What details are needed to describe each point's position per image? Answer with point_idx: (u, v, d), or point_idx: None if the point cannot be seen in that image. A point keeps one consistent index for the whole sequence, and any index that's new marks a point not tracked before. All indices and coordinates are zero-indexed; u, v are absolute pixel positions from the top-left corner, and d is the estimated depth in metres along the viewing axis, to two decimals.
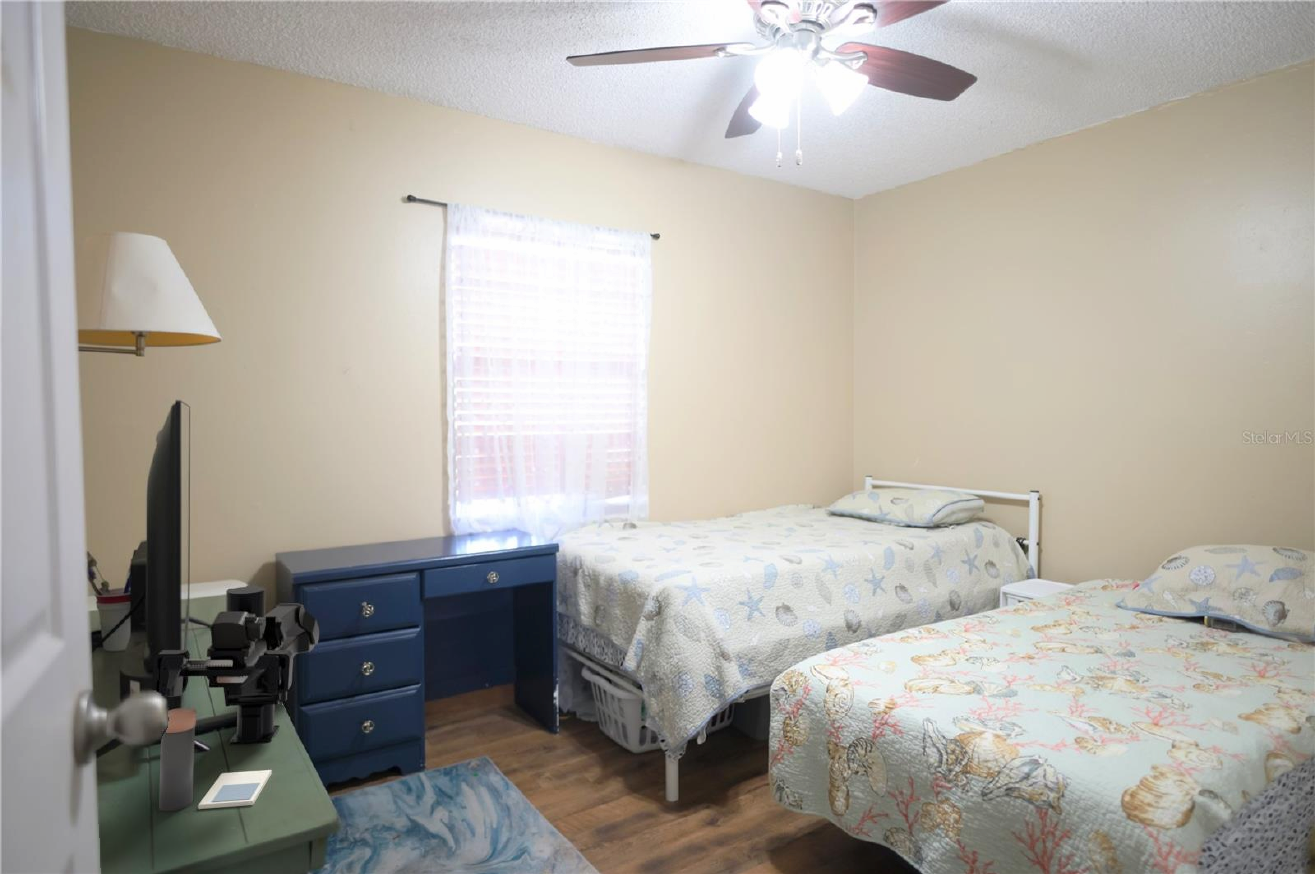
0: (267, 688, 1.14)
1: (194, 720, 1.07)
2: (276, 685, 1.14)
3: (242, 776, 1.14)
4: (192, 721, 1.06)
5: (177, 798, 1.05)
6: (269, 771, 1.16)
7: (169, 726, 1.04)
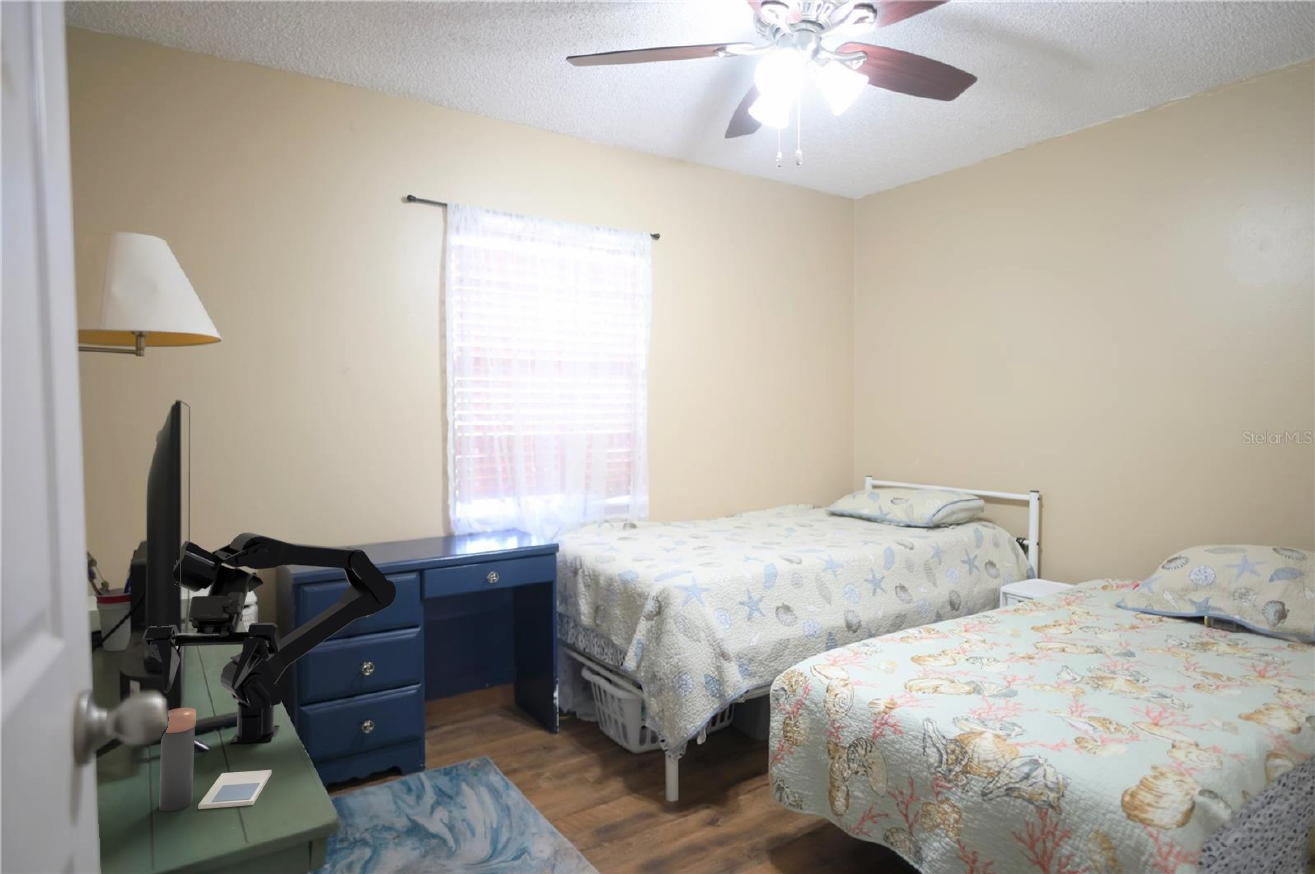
0: (258, 657, 1.21)
1: (194, 720, 1.07)
2: (266, 654, 1.21)
3: (242, 776, 1.14)
4: (192, 721, 1.06)
5: (177, 798, 1.05)
6: (269, 771, 1.16)
7: (169, 726, 1.04)
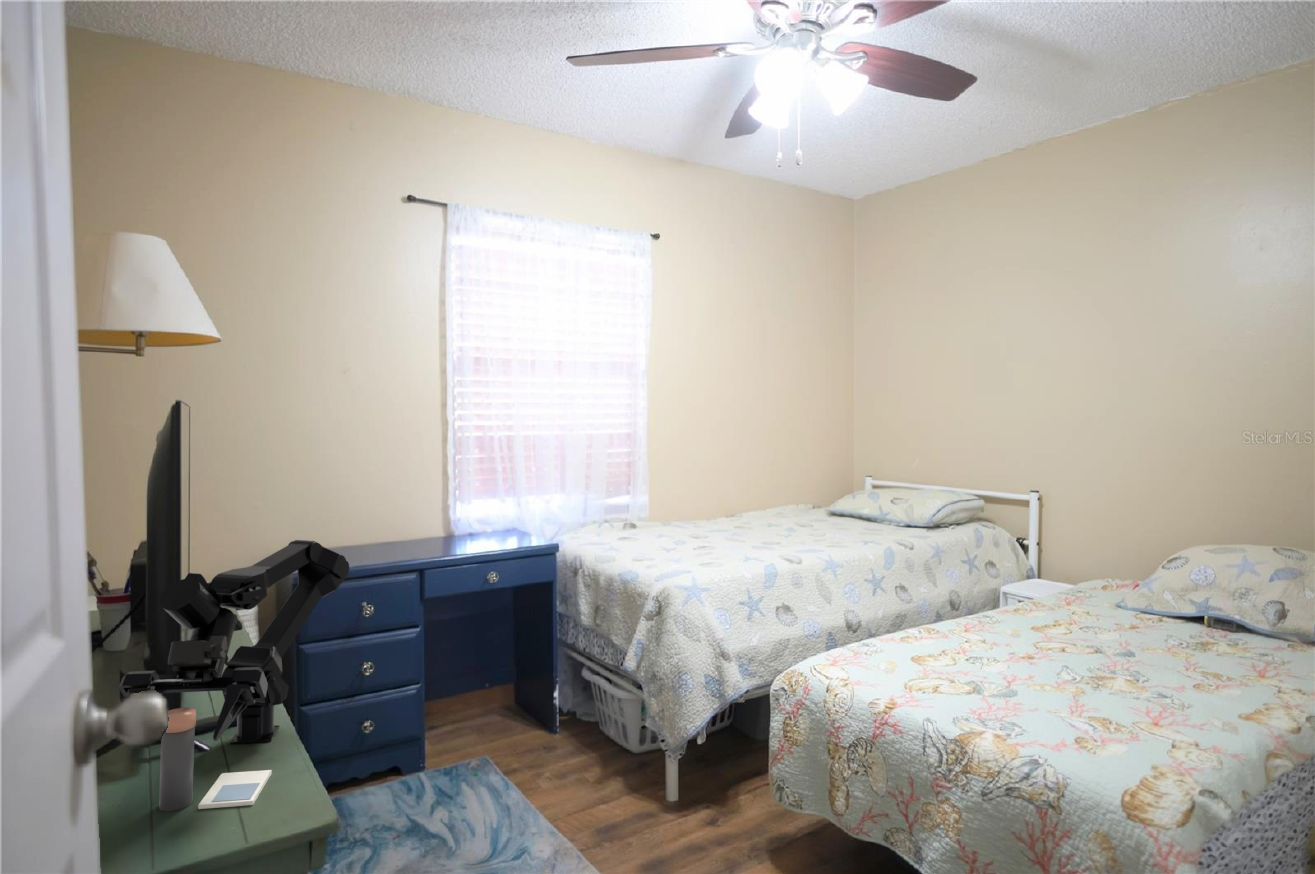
0: (243, 703, 1.14)
1: (194, 720, 1.07)
2: (252, 700, 1.15)
3: (242, 776, 1.14)
4: (192, 721, 1.06)
5: (177, 798, 1.05)
6: (269, 771, 1.16)
7: (169, 726, 1.04)
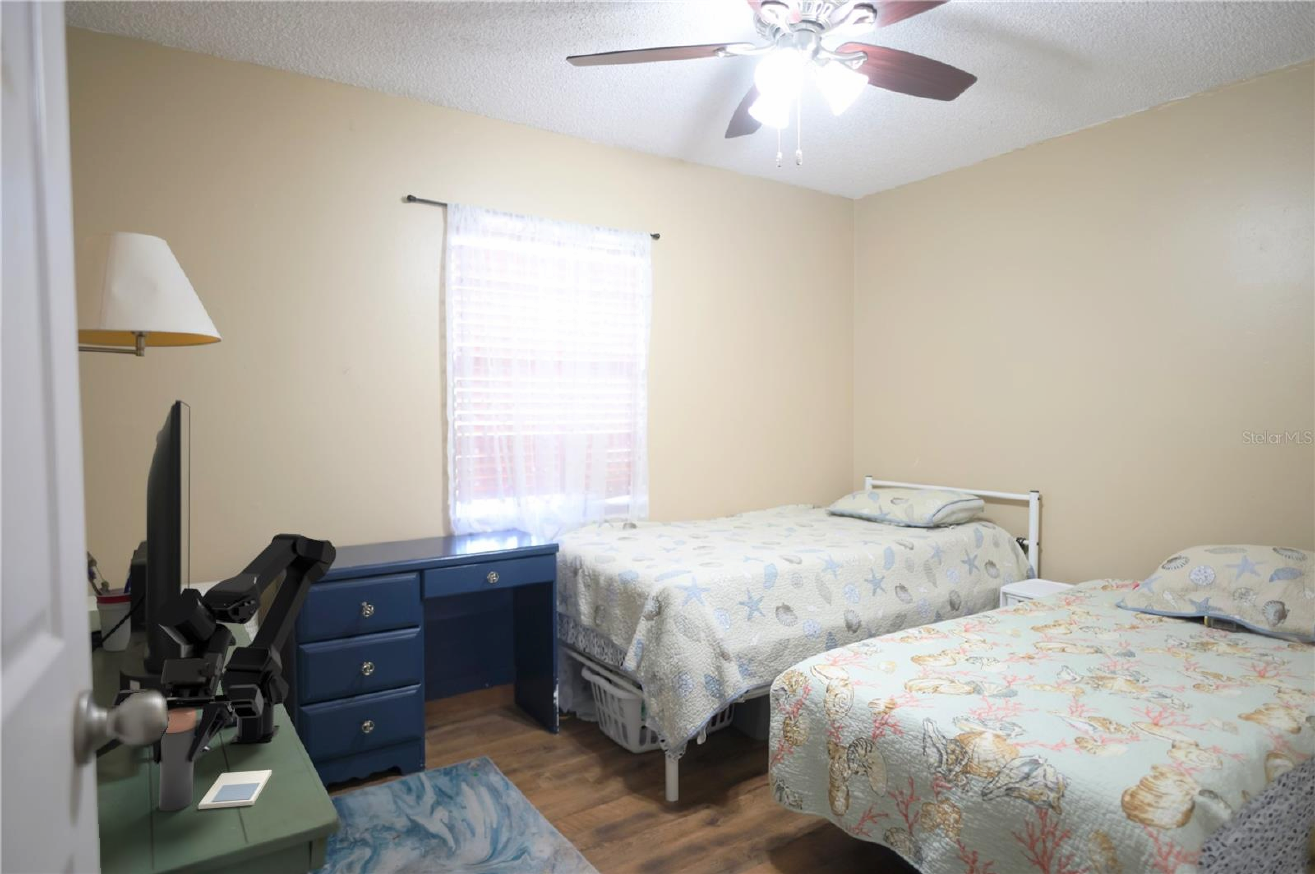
0: (220, 722, 1.11)
1: (194, 720, 1.07)
2: (229, 719, 1.12)
3: (242, 776, 1.14)
4: (192, 721, 1.06)
5: (177, 798, 1.05)
6: (269, 771, 1.16)
7: (169, 726, 1.04)
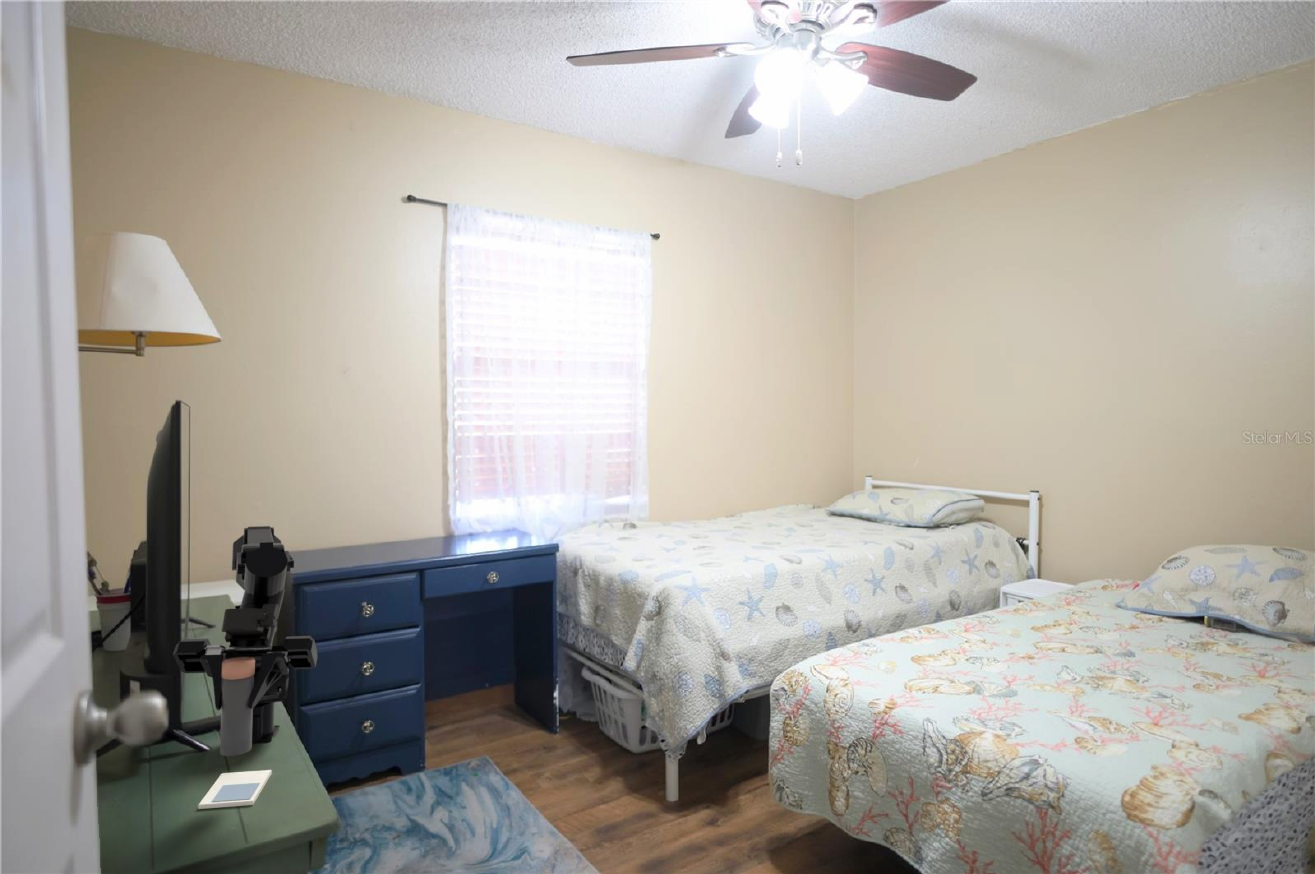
0: (277, 672, 1.14)
1: (253, 668, 1.09)
2: (286, 669, 1.14)
3: (242, 776, 1.14)
4: (252, 669, 1.09)
5: (238, 743, 1.07)
6: (269, 771, 1.16)
7: (230, 673, 1.07)
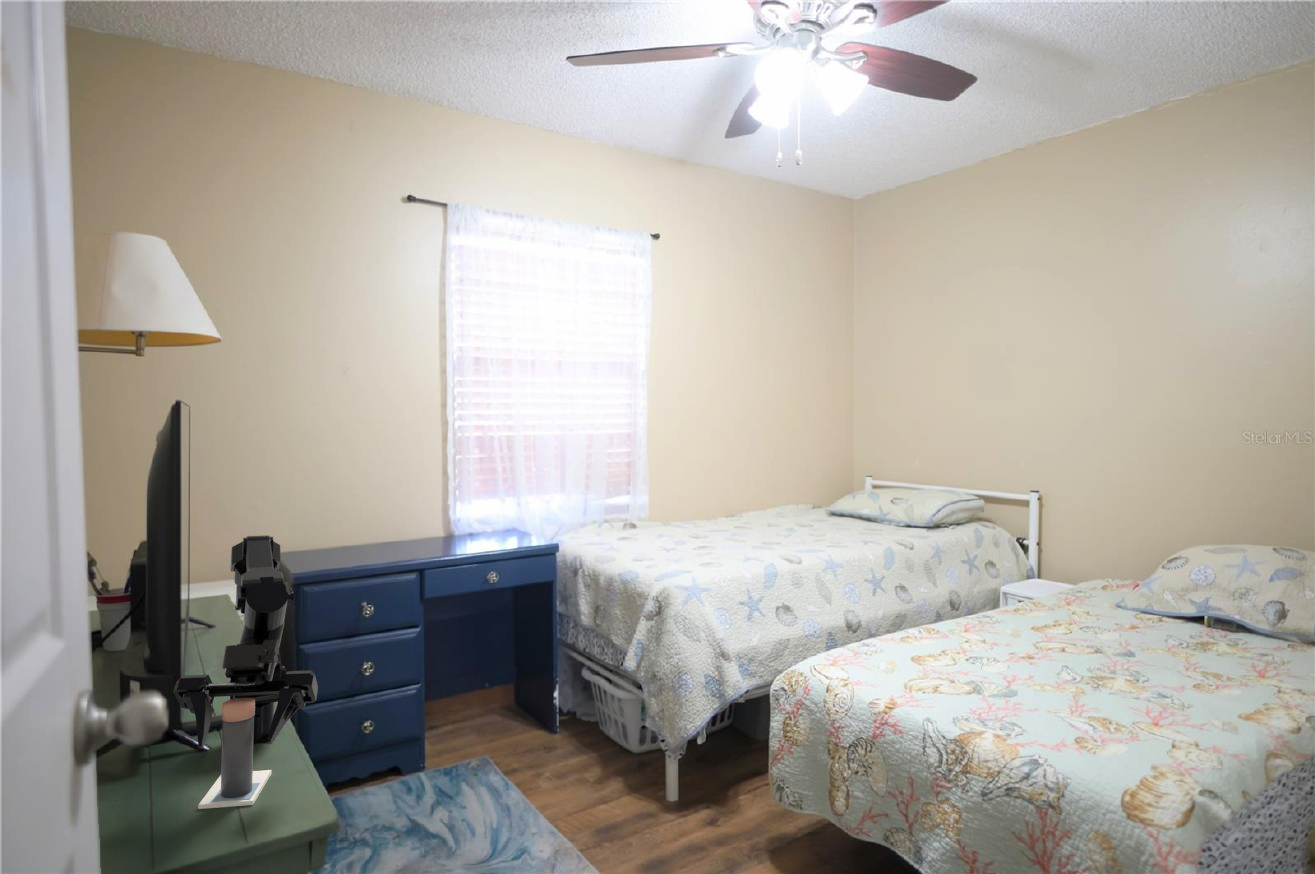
0: (294, 707, 1.15)
1: (253, 709, 1.09)
2: (302, 703, 1.15)
3: None
4: (252, 711, 1.09)
5: (239, 785, 1.07)
6: (269, 771, 1.16)
7: (230, 715, 1.07)
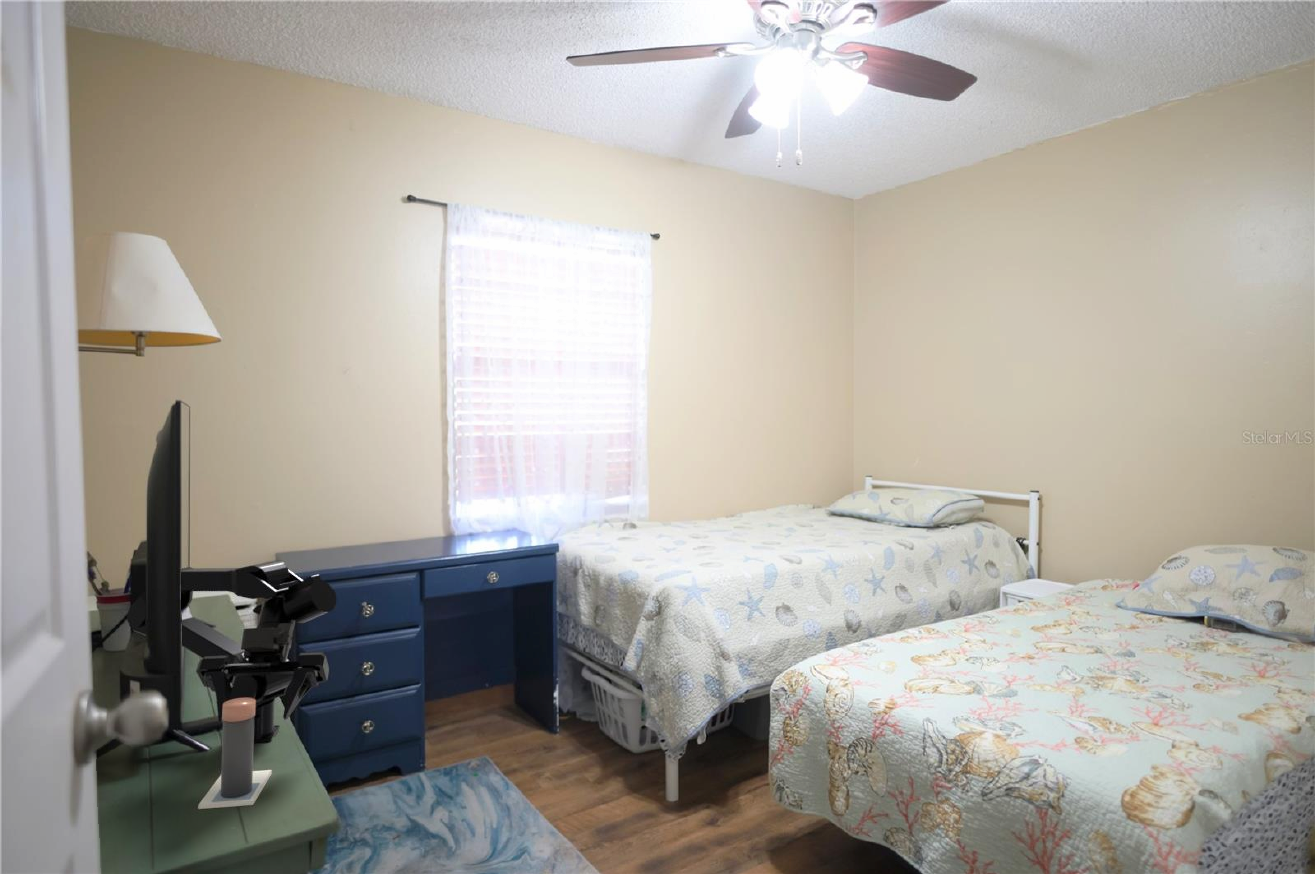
0: (307, 686, 1.24)
1: (254, 709, 1.09)
2: (315, 683, 1.24)
3: None
4: (252, 711, 1.09)
5: (239, 785, 1.07)
6: (269, 771, 1.16)
7: (231, 715, 1.07)
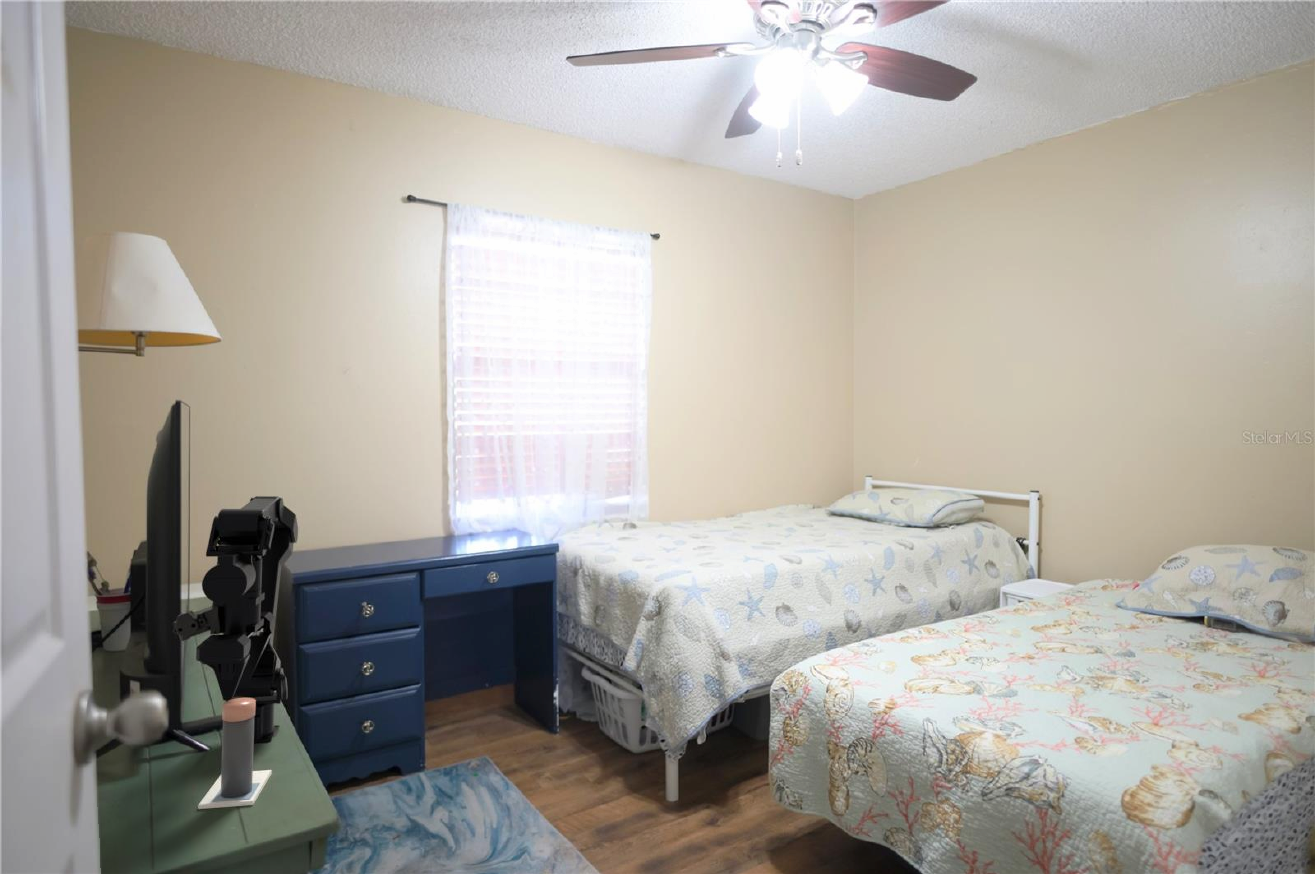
0: None
1: (254, 709, 1.09)
2: (232, 663, 1.09)
3: None
4: (252, 711, 1.09)
5: (239, 785, 1.07)
6: (269, 771, 1.16)
7: (231, 715, 1.07)
